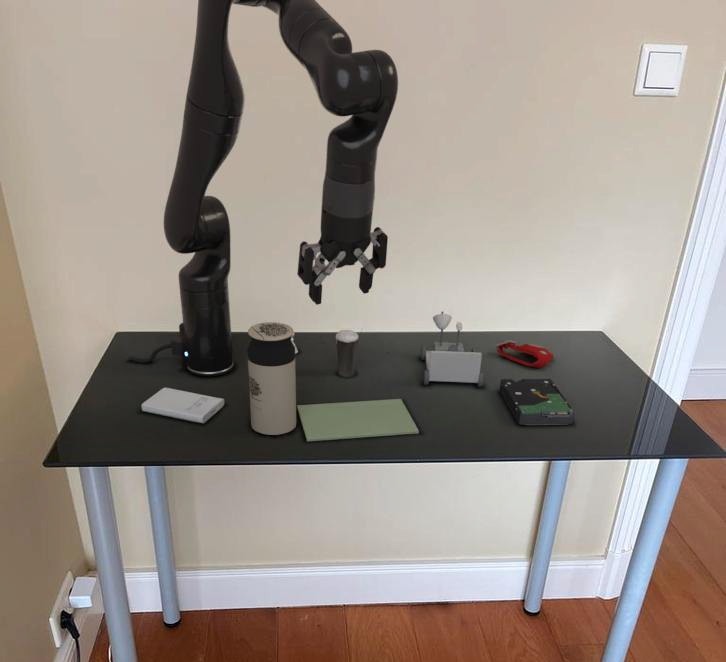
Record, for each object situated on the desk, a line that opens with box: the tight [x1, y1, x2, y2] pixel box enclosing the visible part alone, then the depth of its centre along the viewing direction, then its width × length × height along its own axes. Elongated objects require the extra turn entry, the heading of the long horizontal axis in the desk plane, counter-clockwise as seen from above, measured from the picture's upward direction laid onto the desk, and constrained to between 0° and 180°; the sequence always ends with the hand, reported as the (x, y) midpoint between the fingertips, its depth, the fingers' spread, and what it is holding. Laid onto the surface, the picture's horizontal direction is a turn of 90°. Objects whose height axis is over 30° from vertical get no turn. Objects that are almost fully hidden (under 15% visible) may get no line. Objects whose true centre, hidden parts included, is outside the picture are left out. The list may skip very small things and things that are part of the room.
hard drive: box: [141, 387, 225, 424], centre depth 140 cm, size 2×8×12 cm
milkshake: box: [335, 328, 363, 378], centre depth 153 cm, size 4×5×10 cm
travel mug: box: [246, 321, 297, 436], centre depth 131 cm, size 8×8×18 cm
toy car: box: [420, 311, 485, 388], centre depth 156 cm, size 18×10×12 cm
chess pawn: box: [291, 330, 299, 355], centre depth 162 cm, size 3×3×5 cm
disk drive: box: [499, 378, 575, 426], centre depth 144 cm, size 10×3×15 cm
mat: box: [296, 398, 420, 442], centre depth 138 cm, size 20×13×1 cm, turn 102°
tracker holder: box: [494, 339, 554, 369], centre depth 163 cm, size 12×4×10 cm
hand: (340, 296), depth 123 cm, fingers open, 8 cm apart
